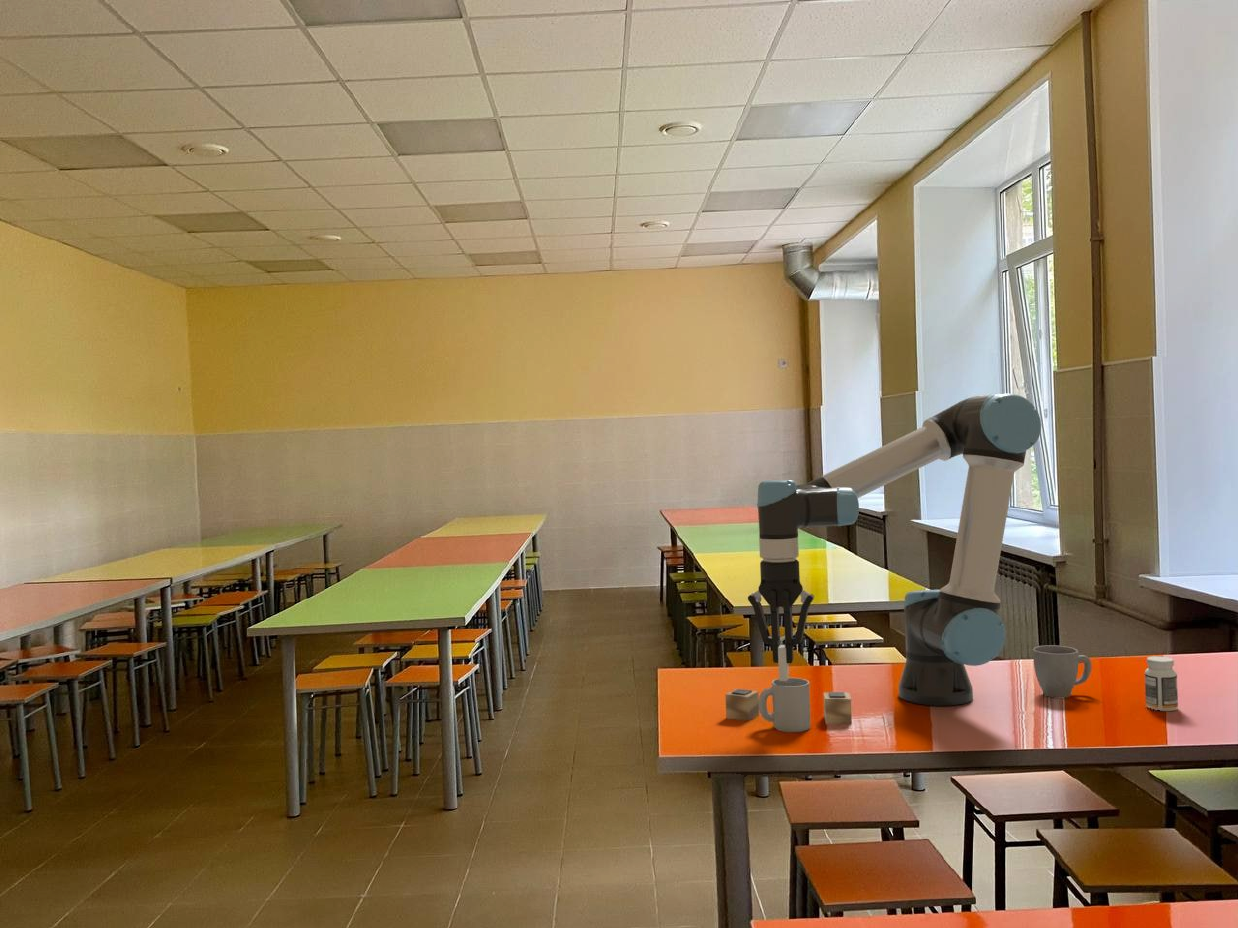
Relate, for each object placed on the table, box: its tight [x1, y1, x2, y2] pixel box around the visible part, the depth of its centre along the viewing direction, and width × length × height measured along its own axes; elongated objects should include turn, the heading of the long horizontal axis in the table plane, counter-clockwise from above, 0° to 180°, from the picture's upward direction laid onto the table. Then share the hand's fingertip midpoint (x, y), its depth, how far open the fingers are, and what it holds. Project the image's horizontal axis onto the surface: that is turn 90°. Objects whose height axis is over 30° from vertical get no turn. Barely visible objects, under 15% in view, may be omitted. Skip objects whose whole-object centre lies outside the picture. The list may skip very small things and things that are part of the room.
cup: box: [758, 677, 811, 733], centre depth 193 cm, size 7×10×9 cm
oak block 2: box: [823, 691, 853, 725], centre depth 197 cm, size 5×5×5 cm
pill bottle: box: [1144, 655, 1179, 712], centre depth 197 cm, size 6×6×10 cm
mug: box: [1032, 644, 1093, 699], centre depth 210 cm, size 12×9×10 cm
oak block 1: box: [724, 688, 760, 722], centre depth 202 cm, size 5×5×5 cm
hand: (784, 679), depth 193 cm, fingers closed
